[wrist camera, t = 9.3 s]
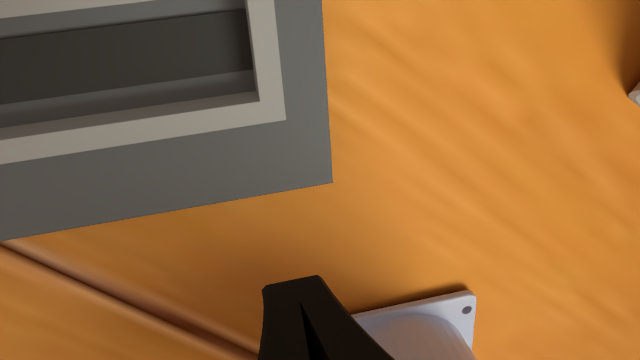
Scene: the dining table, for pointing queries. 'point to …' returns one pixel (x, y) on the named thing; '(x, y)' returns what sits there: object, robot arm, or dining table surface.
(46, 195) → the console board
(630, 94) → the grey angular block
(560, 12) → the dining table surface
